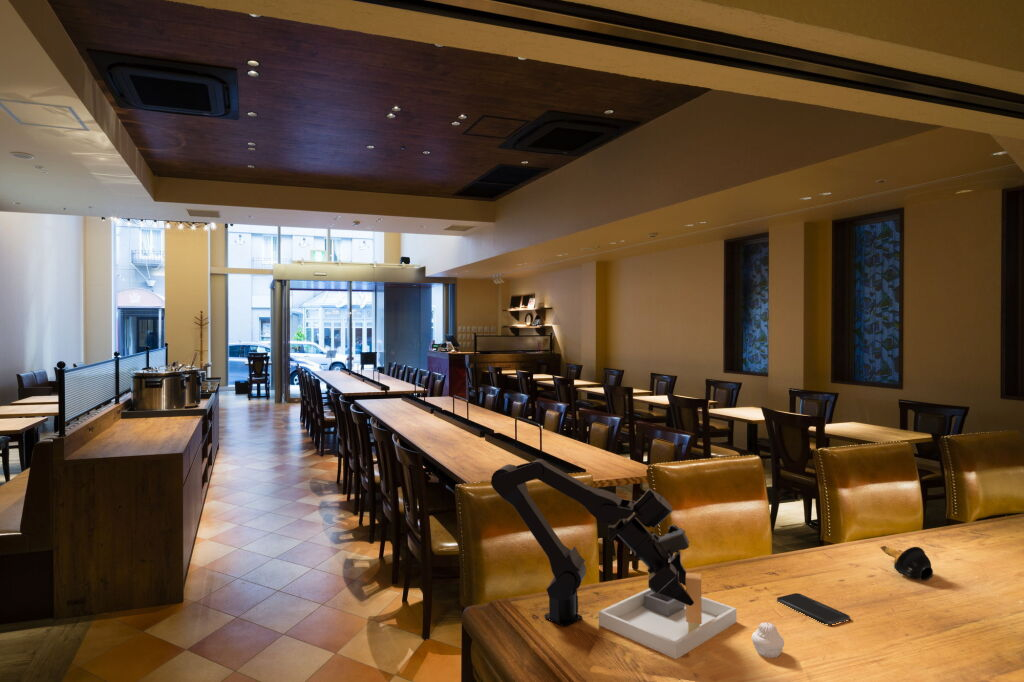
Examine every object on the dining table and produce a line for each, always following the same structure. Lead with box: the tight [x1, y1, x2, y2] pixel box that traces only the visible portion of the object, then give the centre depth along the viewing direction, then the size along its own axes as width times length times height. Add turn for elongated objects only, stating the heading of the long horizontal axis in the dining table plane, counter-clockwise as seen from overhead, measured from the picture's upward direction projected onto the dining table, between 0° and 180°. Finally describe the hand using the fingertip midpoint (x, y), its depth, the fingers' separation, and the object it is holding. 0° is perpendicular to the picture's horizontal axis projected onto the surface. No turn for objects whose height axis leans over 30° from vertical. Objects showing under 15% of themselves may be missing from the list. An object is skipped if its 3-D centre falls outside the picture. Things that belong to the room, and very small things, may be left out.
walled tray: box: [598, 587, 738, 660], centre depth 135 cm, size 24×20×4 cm
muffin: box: [751, 622, 785, 659], centre depth 122 cm, size 6×6×7 cm
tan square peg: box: [685, 572, 702, 633], centre depth 131 cm, size 3×3×12 cm
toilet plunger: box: [879, 545, 934, 581], centre depth 167 cm, size 9×11×18 cm
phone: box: [776, 592, 851, 625], centre depth 144 cm, size 8×1×15 cm
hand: (692, 595), depth 132 cm, fingers open, 9 cm apart
